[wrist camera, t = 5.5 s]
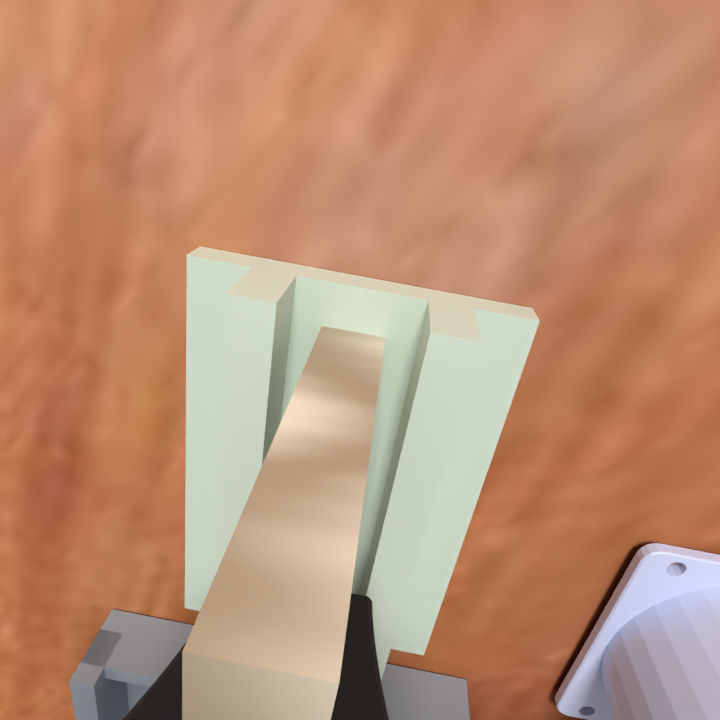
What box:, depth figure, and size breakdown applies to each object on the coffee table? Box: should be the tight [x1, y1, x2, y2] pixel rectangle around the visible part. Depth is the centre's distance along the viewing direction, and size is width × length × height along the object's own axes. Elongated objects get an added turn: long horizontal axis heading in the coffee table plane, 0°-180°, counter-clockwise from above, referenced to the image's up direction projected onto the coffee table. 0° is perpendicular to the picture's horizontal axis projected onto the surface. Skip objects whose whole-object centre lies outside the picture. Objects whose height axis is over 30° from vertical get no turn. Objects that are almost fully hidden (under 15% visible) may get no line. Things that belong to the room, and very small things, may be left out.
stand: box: [185, 246, 540, 680], centre depth 14 cm, size 8×12×3 cm, turn 171°
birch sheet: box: [182, 326, 385, 720], centre depth 11 cm, size 2×10×8 cm, turn 171°
